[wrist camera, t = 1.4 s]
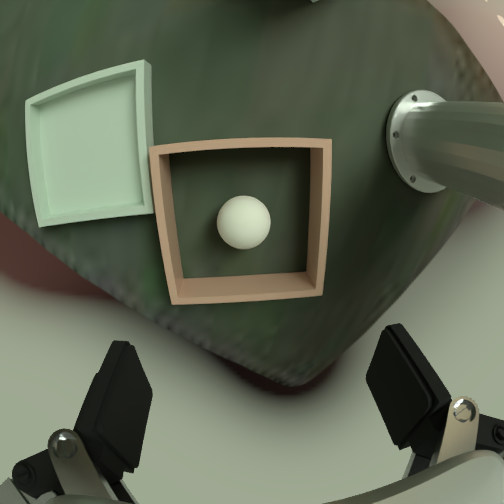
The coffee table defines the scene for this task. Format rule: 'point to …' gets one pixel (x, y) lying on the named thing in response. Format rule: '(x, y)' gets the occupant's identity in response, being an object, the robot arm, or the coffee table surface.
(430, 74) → the coffee table surface
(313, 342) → the coffee table surface
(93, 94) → the tray
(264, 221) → the ball
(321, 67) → the coffee table surface
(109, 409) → the robot arm
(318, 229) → the tan square frame
